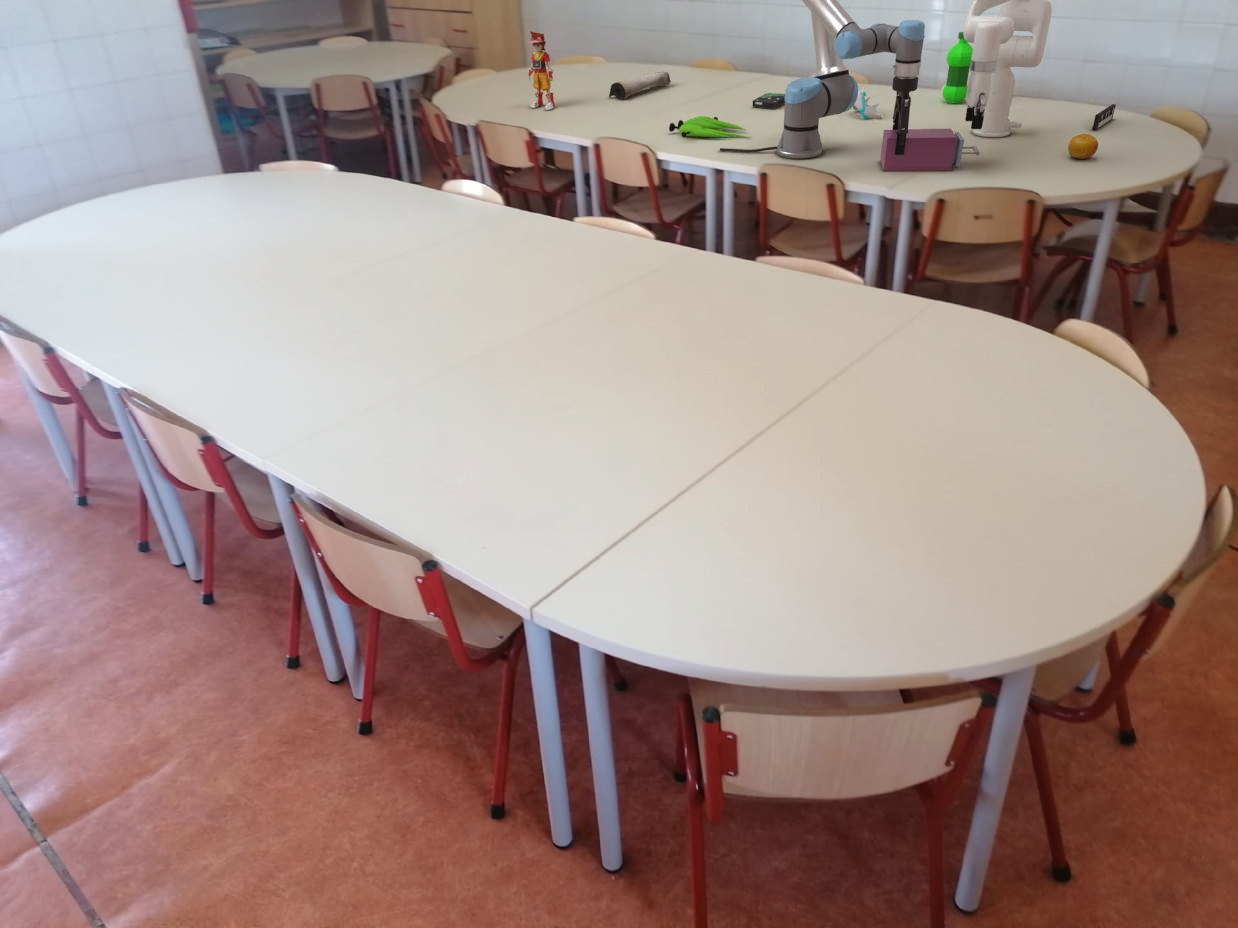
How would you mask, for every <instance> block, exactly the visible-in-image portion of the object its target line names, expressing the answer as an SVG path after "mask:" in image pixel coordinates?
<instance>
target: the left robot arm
mask: <svg viewBox="0 0 1238 928" xmlns="http://www.w3.org/2000/svg"><path fill="white" fill-rule="evenodd" d="M801 1H802V2H803V4H804V5H805V6H806V7H807V9H808V10H809V11H810V15H811V22H812V32H813V41H814V51H815V58H816V68H817V70H816V73H814V75H813V77H805V78H803V77H802V78H798V79H795V80H791V82H789V83H788V84H787V86H786V87H785V93H784V94H785V104H784V111H783V113H784V115H783V129H782V133H781V136H780V139H779V141H778V144H777V146H769V147H762V148H755V149H743V148H723V147H720V148H719V152H735V153H759V152H765V151H773V150H774V151H775V150H776V154H777V155H778V156H779V157H782V158H785V159H790V160H791V159H792V160H806V159H813V158H817V157H819V156H821V155H822V154H823V144H822V140H821V134H820V131H819V123H820V119H823V118H826V117H830V116H834V115H841V114H843V113H846V112H848V111H850V110H851V109H853V105H854V103H855V102H856V100H857V96H858V89H859V85H858V82H857V80H856V79H855V78H854V77H853V76H852V75H850V71H849V70H850V69H849V68H848V67H847V66H846V65H845V64H844V60H851V59H857V58H861V57H864V56H869V55H871V56H872V55H877V54H880V53H890V54H895V60H894V61H895V64H893V65H892V69H894V71H893V75H894V77H893V78H892V87H891V88H892V90H893V91H894V92H895V93H896V96H895V101H894V108H893V115H892V123H893V124H892V129H891V130H898V132H896V134H897V140H896V148H895V155H904V150H905V142H906V134H907V133H908V129H909V123H910V114H911V113H910V110H911V103H912V98H911V96H910V93H911V92H915V91H917V89H918V87H919V80H920V79H919V77H918V76H920V70H921V64H922V53H923V46H924V41H925V36H926V35H925V31H926V30H925V28H926V25H925V22H924V21H922V20H920V19H919V20H918V19H906V20H902V21H900V23H899V26H898V25H893V24H888V23H874V24H872V25H871V26H870V27H867V28H861V27H860V26H859V25H858V24H857V22H856V21H855V20H854V19H853V18H852V17H851V15H850V14H849V12H847V11H846V9H845V8H844V7H843V6H842V5H841V3H840V2H839V1H838V0H801Z"/></svg>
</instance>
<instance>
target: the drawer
mask: <svg viewBox="0 0 1238 928" xmlns="http://www.w3.org/2000/svg"><path fill="white" fill-rule="evenodd" d="M954 134H955V136H956V137H957V138H956V145H955V151H954V157H953V164H954V166H955V167H961V161H962V155H976V156H980V154H981V152H980V150H979V149H978V147H977V145H975V144H974V145H972V146H964V144H965V143H964V142H965V139H964V138H963V136H962V134H961V133H960V132H959V131H955V132H954ZM964 150H972V151H964Z"/></svg>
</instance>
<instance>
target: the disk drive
mask: <svg viewBox="0 0 1238 928" xmlns="http://www.w3.org/2000/svg"><path fill="white" fill-rule="evenodd" d="M785 94H786V93H773V92H767V93H764V94H763V95H761V96H759V97H757V98H754V99H753V100H752V108H753V107H754V108H760V109H772V110H774V109H777V108H779V107H781V106H783V105H785Z"/></svg>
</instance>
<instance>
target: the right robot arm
mask: <svg viewBox="0 0 1238 928" xmlns="http://www.w3.org/2000/svg"><path fill="white" fill-rule="evenodd" d="M997 6H1000V7H999V14H998V15H997V16H995V15H982V14H983V13H985V12H986V11H988V10H989V9H991V8H995V7H997ZM1052 11H1053V7H1052V3H1051V2H1050V1H1049V0H974V1H973V2H972V3H971V6H970V7H969V11H968V13H967V15H966V20H965V23H964V26H963V27H964V28H963V30H962V32H963V36H964V39H965V40H966V41H967V43H969V44H973V45H972V48H973V51H972V57H971V63H970V68H969V73H970V74H969V78H968V79H969V80H968V82H967V86H968V88H967V93H966V98H965V99H964V100H965V103H966V104H967V107H966V112H965V118H964V120H965V122H971V125H970V129H971V130H972V134H974V135H976V136H979V137H986V138H1002V137H1007V136H1009V135H1010V134H1011V130H1012V129H1021V128H1022V123H1023V122H1022V121H1021V122H1020V121H1019V122H1017V121H1015V120H1013V121H1010V119H1009V117H1010V110H1011V106H1012V100H1013V95H1014V91H1015V90H1014V89H1015V85H1016V84H1015V83H1016V77H1015V74H1014V73H1013V71H1012V69H1011V68H1036V67H1038V66H1039V65H1040V64H1041V62H1042V60H1043V57H1044V54H1045V48H1046V44H1047V39H1048V33H1049V30H1050V24H1051V19H1052ZM1015 32H1030V33H1031V34H1032V35H1019V34H1018V35H1017V34H1015V35H1014V33H1015Z"/></svg>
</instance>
